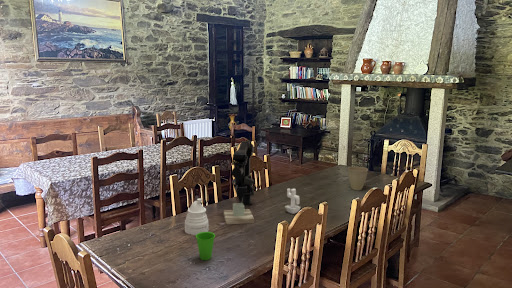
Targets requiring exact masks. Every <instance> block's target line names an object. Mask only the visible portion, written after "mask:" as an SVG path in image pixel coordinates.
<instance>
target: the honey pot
mask: <svg viewBox="0 0 512 288" xmlns="http://www.w3.org/2000/svg"><path fill="white" fill-rule="evenodd" d="M202 201H203V198H197V199H196V200H194V201H193V202H192V203H191V205H190V207H189V208H188V209H187V214H186V217H185V220H184V232H185V233H186V234H188V235H190V234H191V235H192V236H196V235H197V234H198V233H200V232H209V219H208V216H207V213H206V212H207V208H206V207H204V206H203V205H202ZM191 235H190V236H191Z"/></svg>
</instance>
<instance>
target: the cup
mask: <svg viewBox="0 0 512 288" xmlns="http://www.w3.org/2000/svg"><path fill="white" fill-rule="evenodd" d="M215 237H216V234H215V233H214V232H212V231H208V232H200V233H198V234H197V235H195V238H196V243H197V248H198V249H197V250H198V253H199V254H198V255H199V258H200V260H202V261H208V260H210V259H211V258H212V254H213V248H214V242H215Z"/></svg>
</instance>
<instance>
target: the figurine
mask: <svg viewBox="0 0 512 288" xmlns="http://www.w3.org/2000/svg"><path fill="white" fill-rule="evenodd" d="M286 196H287V198H290V204H287V205H285V206H284V208H285V210H286V211H287V213H289V214H292V215H293V214H296V213H299V211H300V209H301V208H302V207H301V206H299V205H300V200H301V199H300V195H297V190H296V188H287V189H286Z"/></svg>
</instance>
